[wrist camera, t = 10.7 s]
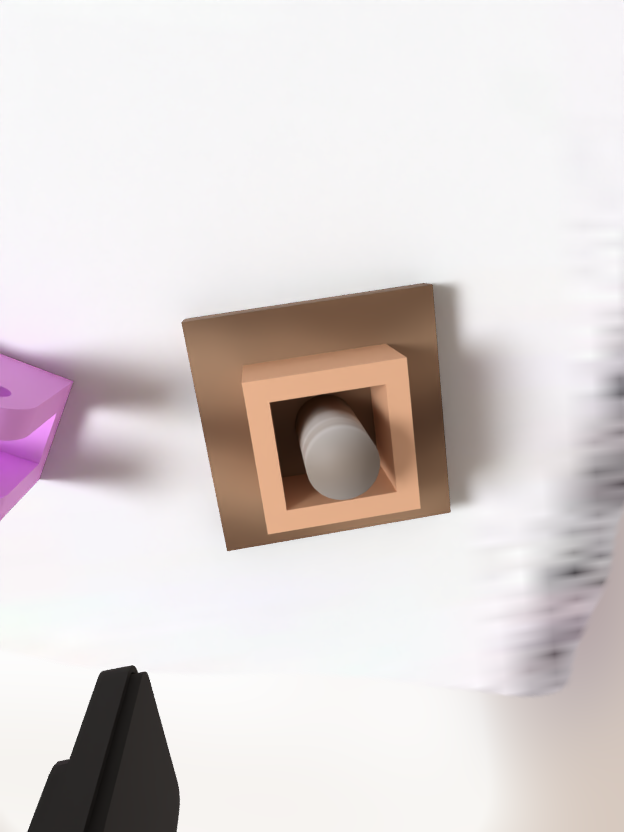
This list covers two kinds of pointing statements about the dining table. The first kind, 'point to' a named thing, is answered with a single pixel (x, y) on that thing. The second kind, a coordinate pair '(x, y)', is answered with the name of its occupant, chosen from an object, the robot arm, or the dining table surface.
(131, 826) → the robot arm
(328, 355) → the collar
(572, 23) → the dining table surface
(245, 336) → the post stand
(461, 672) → the dining table surface
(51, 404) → the bracket
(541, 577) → the dining table surface
